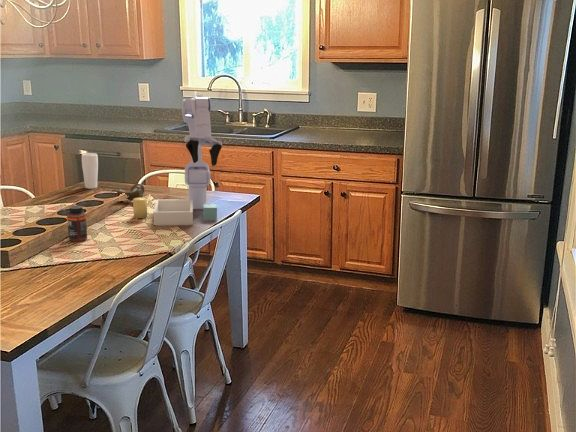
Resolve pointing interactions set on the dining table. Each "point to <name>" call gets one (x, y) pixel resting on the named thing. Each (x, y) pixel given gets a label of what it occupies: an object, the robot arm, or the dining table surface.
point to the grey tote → (173, 212)
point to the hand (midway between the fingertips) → (205, 163)
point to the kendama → (133, 192)
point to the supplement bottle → (77, 224)
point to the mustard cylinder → (140, 207)
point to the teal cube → (209, 212)
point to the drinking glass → (90, 169)
